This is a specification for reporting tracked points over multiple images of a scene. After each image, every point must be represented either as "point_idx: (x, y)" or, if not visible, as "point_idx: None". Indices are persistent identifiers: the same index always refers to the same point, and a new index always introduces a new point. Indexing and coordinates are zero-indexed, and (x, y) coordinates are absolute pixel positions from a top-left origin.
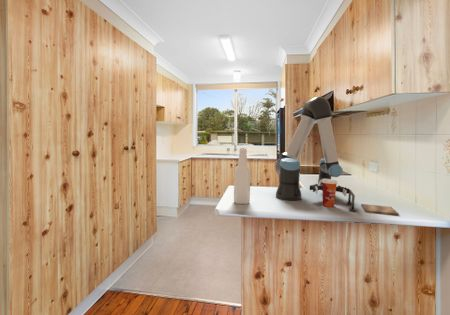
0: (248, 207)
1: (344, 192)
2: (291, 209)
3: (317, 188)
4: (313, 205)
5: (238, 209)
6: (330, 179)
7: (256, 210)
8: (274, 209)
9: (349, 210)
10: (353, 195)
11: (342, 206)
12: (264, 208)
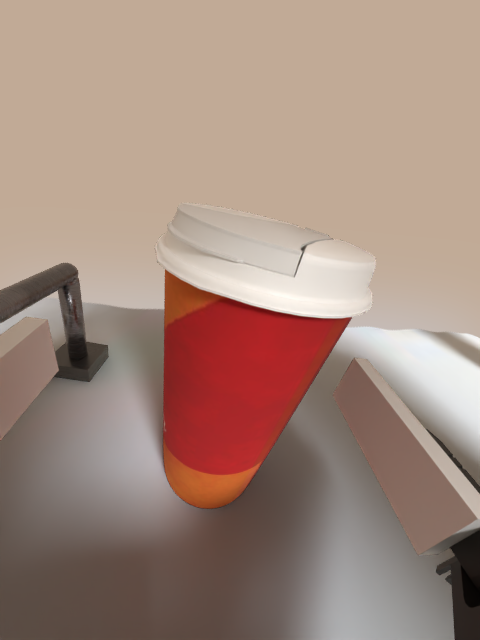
0: (462, 354)
1: (31, 363)
2: (358, 352)
3: (358, 361)
4: (309, 430)
5: (454, 339)
6: (268, 237)
7: (419, 336)
8: (396, 347)
9: (106, 355)
10: (71, 266)
11: (76, 468)
12: (425, 351)
